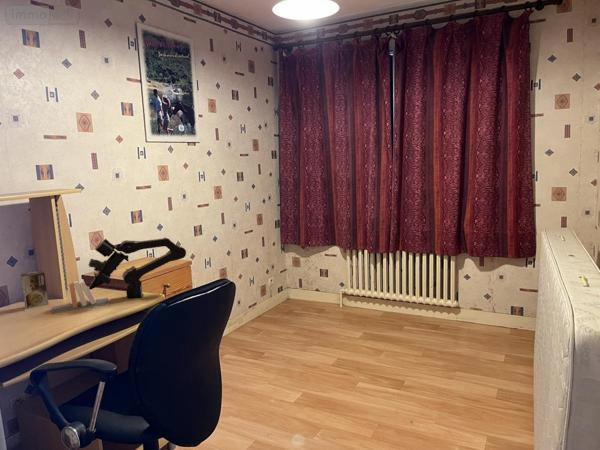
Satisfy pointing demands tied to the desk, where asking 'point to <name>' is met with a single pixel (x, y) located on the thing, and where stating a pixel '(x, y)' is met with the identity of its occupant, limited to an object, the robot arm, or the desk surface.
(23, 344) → the desk surface
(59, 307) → the mat
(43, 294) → the coffee box
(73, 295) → the domino
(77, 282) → the domino
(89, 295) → the domino
